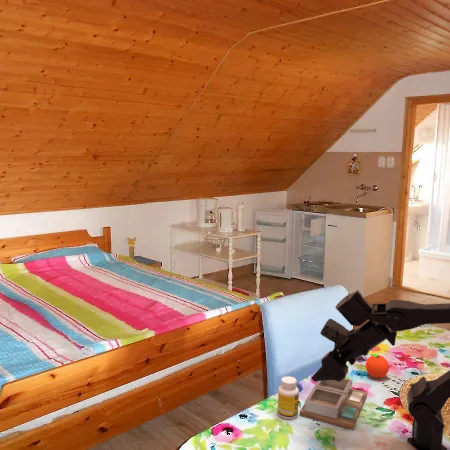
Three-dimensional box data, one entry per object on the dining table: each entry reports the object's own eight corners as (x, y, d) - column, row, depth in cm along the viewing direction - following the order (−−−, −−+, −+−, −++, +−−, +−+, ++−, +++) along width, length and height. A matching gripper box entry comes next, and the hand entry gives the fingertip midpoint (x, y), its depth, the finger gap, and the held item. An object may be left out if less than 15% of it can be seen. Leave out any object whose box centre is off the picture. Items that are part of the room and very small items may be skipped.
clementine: (357, 374, 149) (358, 353, 148) (370, 368, 153) (371, 347, 152) (380, 384, 143) (381, 362, 142) (392, 377, 147) (394, 355, 146)
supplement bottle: (297, 421, 123) (298, 385, 122) (276, 418, 124) (277, 383, 123) (298, 410, 128) (299, 376, 127) (278, 407, 129) (279, 374, 128)
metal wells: (337, 419, 122) (337, 409, 121) (304, 411, 125) (305, 400, 125) (351, 389, 137) (352, 379, 137) (322, 382, 141) (322, 373, 140)
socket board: (353, 429, 119) (353, 423, 119) (299, 415, 126) (299, 409, 125) (366, 396, 136) (367, 390, 136) (318, 385, 142) (319, 379, 142)
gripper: (350, 301, 124) (307, 334, 131) (332, 324, 108) (284, 360, 114) (379, 335, 122) (335, 367, 128) (366, 364, 105) (315, 398, 112)
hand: (317, 371), depth 121 cm, fingers open, 9 cm apart
